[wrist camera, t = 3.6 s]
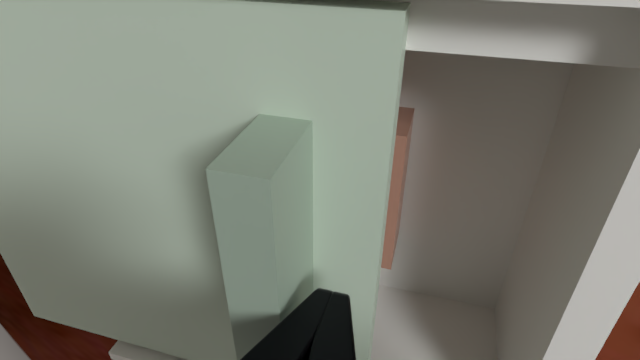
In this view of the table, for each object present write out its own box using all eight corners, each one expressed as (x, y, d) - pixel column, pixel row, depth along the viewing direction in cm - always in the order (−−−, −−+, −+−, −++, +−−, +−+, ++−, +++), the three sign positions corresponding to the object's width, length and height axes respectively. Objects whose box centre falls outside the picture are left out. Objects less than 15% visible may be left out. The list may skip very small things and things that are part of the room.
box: (510, 321, 18) (525, 481, 13) (193, 253, 22) (110, 359, 17) (647, -56, 11) (808, -17, 6) (125, -66, 14) (-66, -49, 9)
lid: (367, 388, 15) (346, 489, 12) (49, 301, 18) (-20, 367, 16) (410, 2, 8) (383, 49, 5) (-114, -29, 11) (-288, -8, 9)
